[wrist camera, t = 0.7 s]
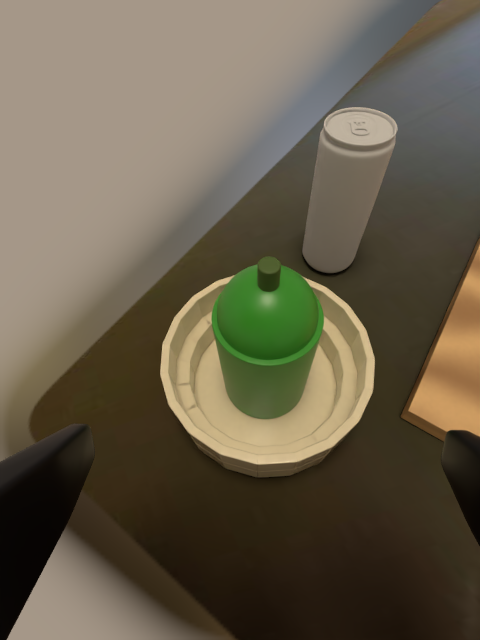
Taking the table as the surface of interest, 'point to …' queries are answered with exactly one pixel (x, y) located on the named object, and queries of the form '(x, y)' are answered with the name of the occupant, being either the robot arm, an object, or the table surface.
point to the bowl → (278, 433)
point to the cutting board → (452, 365)
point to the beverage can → (346, 184)
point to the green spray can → (266, 337)
